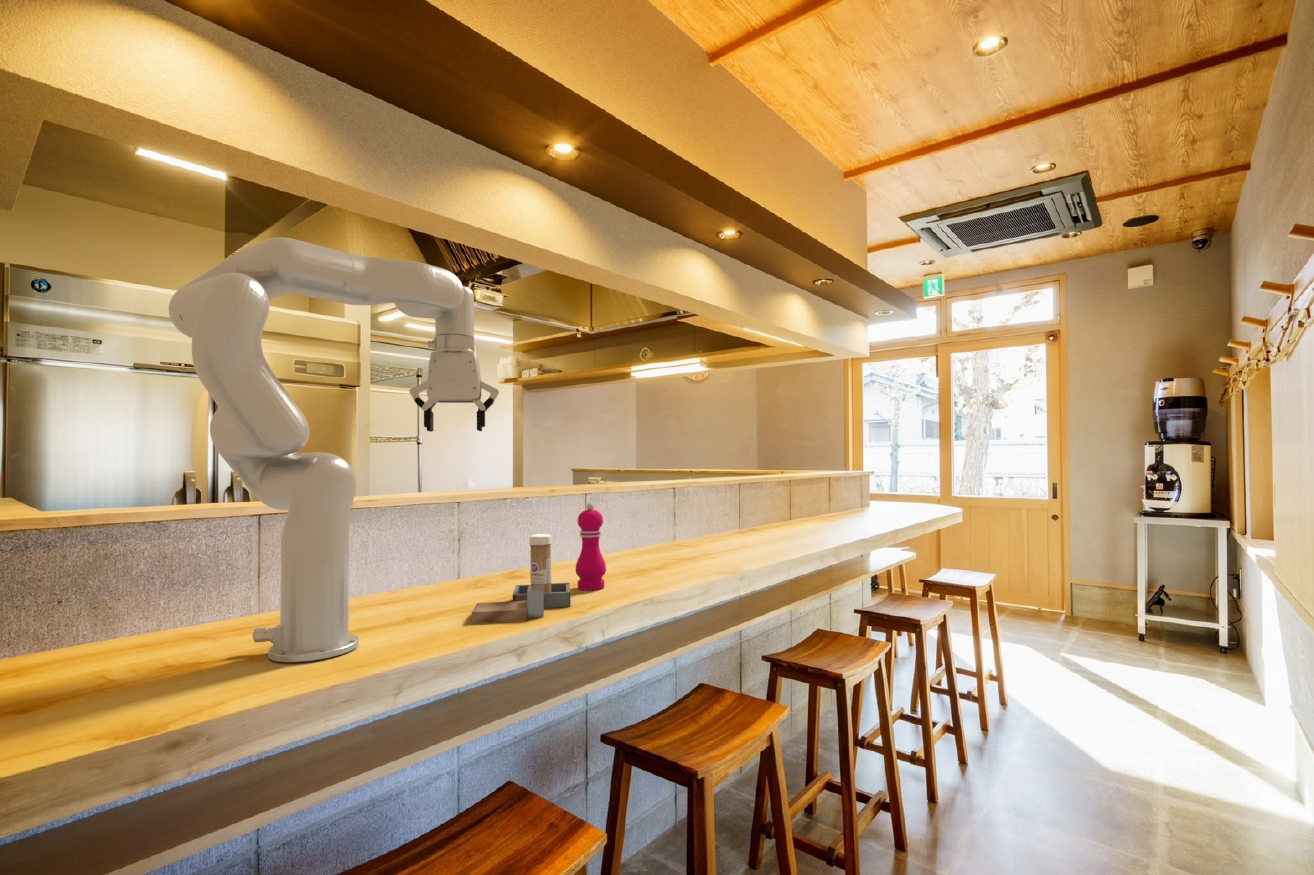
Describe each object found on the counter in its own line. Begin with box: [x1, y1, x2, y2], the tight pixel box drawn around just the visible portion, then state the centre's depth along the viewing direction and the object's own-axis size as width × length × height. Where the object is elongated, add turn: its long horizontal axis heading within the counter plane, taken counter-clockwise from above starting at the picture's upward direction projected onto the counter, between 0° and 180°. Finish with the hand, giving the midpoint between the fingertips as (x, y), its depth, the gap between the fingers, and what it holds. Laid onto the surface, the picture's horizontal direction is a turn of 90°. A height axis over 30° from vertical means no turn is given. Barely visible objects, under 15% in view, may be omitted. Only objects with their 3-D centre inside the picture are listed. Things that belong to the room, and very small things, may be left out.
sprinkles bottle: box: [529, 533, 552, 593], centre depth 130 cm, size 5×5×13 cm
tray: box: [512, 582, 571, 609], centre depth 129 cm, size 12×11×3 cm
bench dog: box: [527, 584, 545, 619], centre depth 120 cm, size 3×6×5 cm, turn 9°
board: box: [471, 600, 528, 625], centre depth 118 cm, size 10×8×2 cm
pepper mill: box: [574, 502, 607, 591], centre depth 144 cm, size 7×7×20 cm
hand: (454, 430), depth 123 cm, fingers open, 9 cm apart
